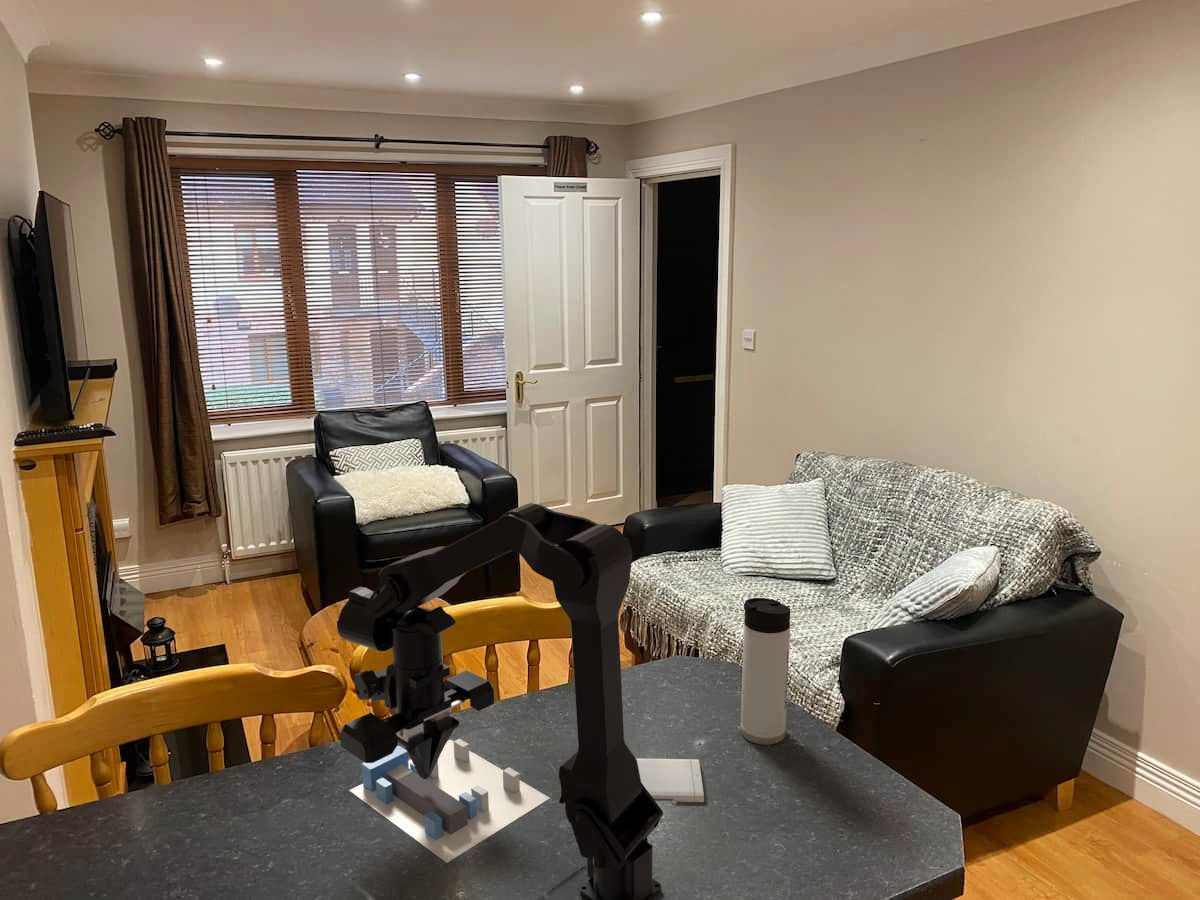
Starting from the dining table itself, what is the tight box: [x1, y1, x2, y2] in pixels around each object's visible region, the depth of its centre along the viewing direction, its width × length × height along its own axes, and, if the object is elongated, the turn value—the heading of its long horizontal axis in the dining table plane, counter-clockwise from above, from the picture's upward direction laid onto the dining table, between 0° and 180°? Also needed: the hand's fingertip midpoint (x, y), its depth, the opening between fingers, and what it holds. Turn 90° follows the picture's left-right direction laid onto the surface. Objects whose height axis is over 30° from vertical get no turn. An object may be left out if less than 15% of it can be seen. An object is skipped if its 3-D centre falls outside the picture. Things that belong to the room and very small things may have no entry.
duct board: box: [348, 738, 551, 864], centre depth 110 cm, size 20×16×4 cm
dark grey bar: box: [386, 764, 468, 835], centre depth 107 cm, size 13×2×2 cm, turn 47°
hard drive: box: [635, 757, 705, 803], centre depth 113 cm, size 2×8×12 cm
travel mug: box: [740, 597, 791, 746], centre depth 122 cm, size 6×7×20 cm
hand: (424, 776), depth 107 cm, fingers closed
